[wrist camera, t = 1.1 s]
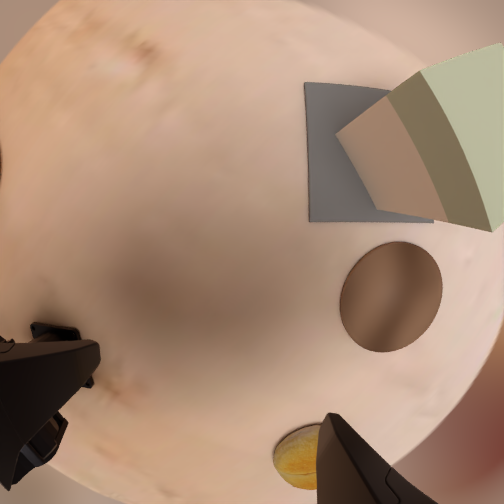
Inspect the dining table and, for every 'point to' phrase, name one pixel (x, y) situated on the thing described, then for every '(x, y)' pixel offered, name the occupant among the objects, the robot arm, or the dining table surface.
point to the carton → (437, 143)
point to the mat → (339, 156)
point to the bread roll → (298, 458)
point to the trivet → (391, 297)
